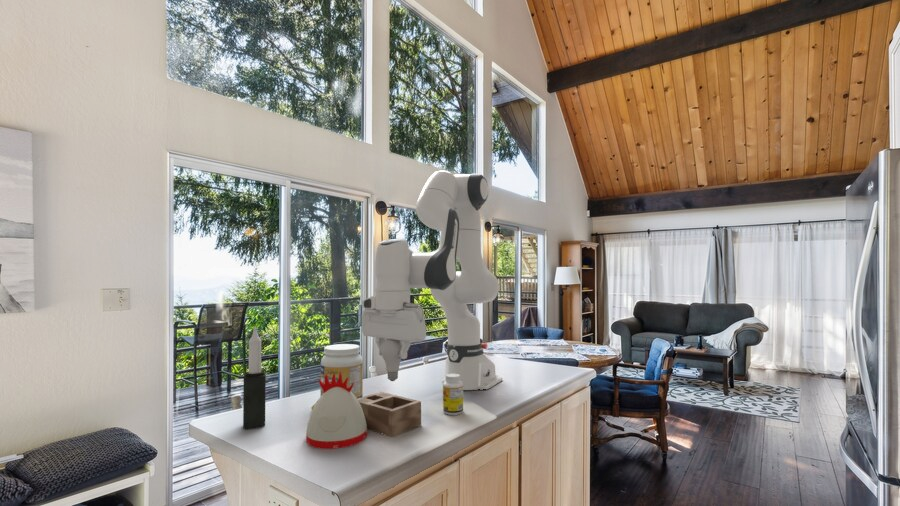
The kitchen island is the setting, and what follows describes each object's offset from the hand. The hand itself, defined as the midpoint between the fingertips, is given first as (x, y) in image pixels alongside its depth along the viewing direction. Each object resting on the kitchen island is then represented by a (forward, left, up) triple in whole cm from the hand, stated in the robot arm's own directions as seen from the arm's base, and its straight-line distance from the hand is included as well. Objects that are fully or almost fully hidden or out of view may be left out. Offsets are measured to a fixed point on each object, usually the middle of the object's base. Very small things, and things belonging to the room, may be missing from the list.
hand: (392, 356), depth 111 cm
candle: (+21, -29, -18) cm, 40 cm away
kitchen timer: (+13, -6, -18) cm, 23 cm away
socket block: (0, -3, -17) cm, 18 cm away
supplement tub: (-4, -26, -18) cm, 32 cm away
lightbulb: (0, 0, -6) cm, 6 cm away
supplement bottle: (-18, +5, -18) cm, 26 cm away
